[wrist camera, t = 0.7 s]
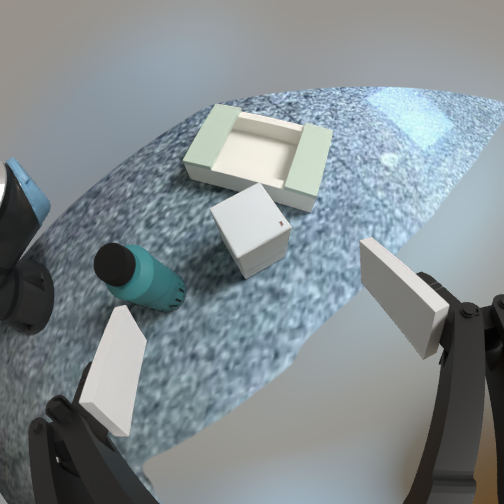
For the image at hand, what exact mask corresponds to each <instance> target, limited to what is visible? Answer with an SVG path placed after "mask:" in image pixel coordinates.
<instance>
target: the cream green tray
mask: <svg viewBox="0 0 504 504" xmlns="http://www.w3.org/2000/svg"><path fill="white" fill-rule="evenodd" d="M332 135H333V131H332V130H329V129H326V128H323V127H319V126H316V125H312V124H309V123H306V124H305V126H302V125H298V124H294V123H290V122H286V121H282V120H278V119H274V118H269V117H265V116H260V115H256V114H251V113H246V112H241V108H238V107H233V106H227V105H221V104H215V106H214V107H213V109H212V111H211V112H210V114H209V116H208V117H207V119H206V120H205V122H204V124H203V125H202V127H201V129H200V131H199V132H198V134H197V136H196V137H195V139H194V141H193V143H192V144H191V146H190V148H189V150H188V152H187V153H186V155H185V157H184V159H183V163H184V165H185V167H186V170H187V172H188V174H189V177H190V179H192V180H196V181H200V182H204V183H208V184H212V185H216V186H219V187H223V188H227V189H231V190H234V191H238V192H241V191H243V190H245V189H247V188H249V187H251V186H253V185H255V184H257V183H259V182H260V183H261V184H262V186H263V187H264V189H265V190H266V191H267V193H268V194H269V196H270V197H271V199H272V200H273V201H274V202H277V203H280V204H283V205H287V206H290V207H293V208H296V209H300V210H303V211H306V212H309V213H311V211H312V208H313V205H314V202H315V200H316V197H317V193H318V190H319V186H320V182H321V178H322V175H323V171H324V167H325V163H326V159H327V155H328V151H329V147H330V143H331V139H332Z"/></svg>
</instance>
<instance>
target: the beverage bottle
mask: <svg viewBox="0 0 504 504" xmlns="http://www.w3.org/2000/svg"><path fill="white" fill-rule="evenodd" d="M169 268H170V267H169ZM169 268H168V267H166V266H165V265H163V264H162V263H161V262H159V261H158V260H157V259H156V258H154V257H153V256H152V255H151V254H149V252H148V251H146V250H145V249H144V248H142V247H140V246H137V245H126V246H122V245H120V244H117V243H108V244H106V245H104V246H102V247H101V248H100V249H99V251H98V252H97V254H96V256H95V259H94V270H95V273H96V275H97V276H98V277H99V279H101V280H102V281H104V282H105V283H106V285H107V287H108V289H109V291H110V292H111V293H112V294H113V295H114V296H115V297H117V298H119V299H121V300H125V301H128V302H130V303H131V302H132V303H134V305H137V304H139V305H138V306H141V305H142V306H145V307H149V308H152V309H153V310H157V311H159V310H160V311H161V312H163V311H164V313H165V312H166V313H167V312H169V311H173V310H175V309H178V307H179V306H180V305H182V302H184V300H185V299H184V298H185V297H186V296H185V295H186V287H185V284H184V282H183V280H182V279H181V277H179V276H178V275H179V274H178V275H177V274H176V272H175V271H174V272H175V273H174V272H173V271H172V270H170V269H169ZM149 308H148V309H149Z"/></svg>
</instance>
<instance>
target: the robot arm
mask: <svg viewBox="0 0 504 504" xmlns="http://www.w3.org/2000/svg"><path fill="white" fill-rule="evenodd" d="M50 206H51V205H50V201H49V200H48V198H47V197H46V195H45V194H44V193H43V192H42V191H41V189H40V188H39V187H38V186H37V185H36V183H35V182H34V181H33V180H32V178H31V177H30V176H29V175H28V174H27V172H26V171H25V170H24V169H23V167H22V166H21V165H20V164H19V162H18V161H17V160H16V159H15V158H13V157H11V158H10V159H9V160H7V161H6V163H5V164H4V163H2V162H1V161H0V320H1V321H4V322H5V323H7V324H8V325H10V326H11V327H13V328H14V329H16V330H18V331H19V332H22V333H28V334H35V333H38V332H39V331H41V330H42V329H43V328H44V327H45V326H46V324H47V322H48V321H49V318H50V316H51V313H52V309H53V303H54V286H53V281H52V278H51V275H50V273H49V271H48V269H47V268H46V267H45V266H44V265H43V264H41V263H39V262H37V261H34V260H19V259H20V257H21V256H22V254H23V252H24V251H25V249H26V247H27V246H28V245H29V243H30V241H31V240H32V238H33V237H34V236H35V234H36V233H37V231H38V230H39V228H40V227H41V226H42V223H43V221H44V220H45V218H46V216H47V214H48V213H49V211H50ZM359 243H360V262H361V283H362V284H363V285H364V286H365V287H366V289H367V290H368V291H369V292H370V293H371V295H372V296H373V297H374V298H375V299H376V300H377V302H378V303H379V304H380V305H381V307H382V308H383V309H384V310H385V311H386V313H387V314H388V315H389V316H390V318H391V319H392V320H393V321H394V323H395V324H396V325H397V326H398V328H399V329H400V330H401V331H402V333H403V334H404V335H405V337H406V338H407V339H408V340H409V342H410V343H411V344H412V345H413V347H414V348H415V349H416V351H417V352H418V353H419V355H420V356H421V357H422V359H423V360H424V359H426V358H427V357H429V356H431V355H433V354H435V353H436V352H437V349H438V346H439V343H440V345H441V346H442V347H443V348H444V350H443V353H442V356H441V359H440V361H439V364H441V369H440V378H439V384H438V390H437V396H436V401H435V406H434V411H433V416H432V421H431V425H430V429H429V433H428V437H427V441H426V444H425V448H424V451H423V455H422V458H421V461H420V465H419V468H418V471H417V473H416V476H415V479H414V482H413V485H412V487H411V490H410V492H409V494H408V496H407V497H406V499H405V500H404V502H403V504H472V502H473V499H474V495H475V491H476V481H475V480H474V478H473V473H474V468H475V464H476V459H477V454H478V448H479V442H480V436H481V429H482V420H483V410H484V397H485V376H486V380H487V385H488V390H489V395H490V401H491V407H492V413H493V420H494V428H495V438H496V450H497V489H498V490H497V494H498V503H499V504H504V294H503V295H502V294H500V295H497V296H495V297H494V299H493V302H492V305H491V306H487V307H482V308H479V307H478V306H477V305H475V304H473V303H469V302H463V303H461V302H460V301H459V300H458V299H457V298H456V297H454V296H453V295H452V294H451V293H450V292H449V291H448V290H447V289H445V288H444V287H442V285H441V284H440V283H437V281H436V280H435V279H434V278H433V277H431V276H430V275H428V274H426V273H423V272H419V273H417V274H415V273H414V272H413V271H412V270H410V269H409V268H408V267H407V266H406V265H405V264H403V263H402V262H401V261H400V260H399V259H398V258H396V257H395V256H394V255H393V254H392V253H390V252H389V251H388V250H387V249H385V248H384V247H383V246H382V245H381V244H379V243H378V242H377V241H376V240H374V239H373V238H372V237H370V238H366V239H363V240H360V241H359ZM146 342H147V340H146V339H145V337H144V336H143V334H142V332H141V331H140V329H139V327H138V325H137V324H136V322H135V320H134V319H133V317H132V315H131V313H130V312H129V310H128V308H127V306H126V305H123V306H119V307H115V308H114V310H113V312H112V315H111V317H110V319H109V322H108V324H107V327H106V329H105V331H104V334H103V336H102V339H101V341H100V344H99V346H98V349H97V352H96V354H95V357H94V360H93V361H92V362H89V363H88V365H87V366H86V367H85V369H84V371H83V374H82V376H81V379H80V382H79V385H78V388H77V390H76V393H75V396H74V399H73V402H72V404H71V403H70V402H69V401H68V400H67V399H66V398H65V397H64V396H62V395H57V396H55V397H53V398H52V399H51V400H50V401H49V402H48V404H47V405H46V409H45V412H46V415H47V416H48V417H50V418H51V419H52V420H53V422H50V423H48V422H47V421H46V420H45V419H44V418H41V417H38V418H36V419H34V420H33V421H32V422H31V424H30V426H29V431H28V435H29V455H30V467H31V476H32V484H33V490H34V496H35V502H36V504H159V503H158V502H157V501H156V499H155V498H154V497H153V496H152V495H151V494H150V492H149V491H148V490H147V489H146V488H145V486H144V485H143V484H142V483H141V481H140V480H139V479H138V477H137V476H136V475H135V474H134V472H133V471H132V470H131V468H130V467H129V465H128V464H127V463H126V461H125V460H124V458H123V457H122V456H121V454H120V453H119V451H118V450H117V448H116V447H115V445H114V444H113V442H112V441H111V439H110V438H109V437H107V434H108V430H109V431H110V432H111V433H112V434H113V435H114V436H129V433H130V426H131V419H132V413H133V407H134V401H135V396H136V390H137V385H138V379H139V374H140V369H141V365H142V360H143V355H144V351H145V346H146ZM56 457H57V458H58V462H57V459H56Z"/></svg>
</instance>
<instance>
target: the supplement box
mask: <svg viewBox="0 0 504 504" xmlns="http://www.w3.org/2000/svg"><path fill="white" fill-rule="evenodd" d="M210 212H211V214H212V216H213V219H214V221H215V223H216V225H217V227H218V230H219V232H220V235H221V238H222V240H223V242H224V244H225V245H226V247H227V249H228V251H229V252H230V254H231V256H232V258H233V259H234V261H235V263H236V264H237V266H238V268H239V269H240V271H241V273H242V274H243V276H244V278H245V279H247V278H249V277H251V276H253V275H254V274H256V273H258V272H260V271H261V270H263V269H265V268H267V267H268V266H270V265H272V264H273V263H275V262H277V261H279V260H280V259H282V258H284V257H285V253H286V249H287V245H288V241H289V236H290V232H291V228H292V227H291V225H290V224H289V223H288V221H287V220H286V218H285V217H284V216H283V214H282V213H281V211H280V210H279V209H278V207H277V206H276V204H275V203H274V201H273V200H272V199H271V197H270V196H269V194H268V193H267V191H266V190H265V189H264V187H263V186H262V184H261V183H260V182H259V183H257V184H255V185H253V186H251V187H249V188H247V189H245V190H243V191H241V192H239V193H237V194H236V195H234V196H232V197H230V198H228V199H226V200H224V201H222V202H221V203H219V204H217V205H215V206H213V207H211V208H210Z"/></svg>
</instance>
